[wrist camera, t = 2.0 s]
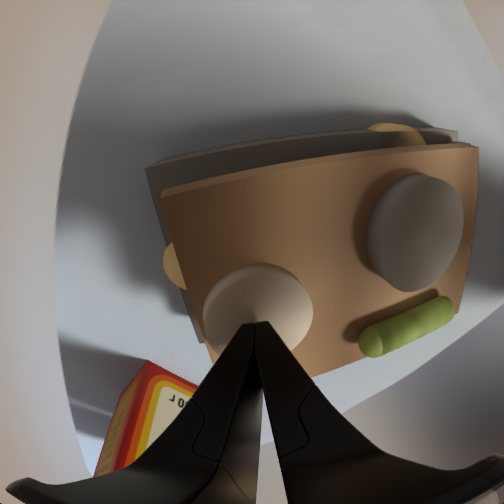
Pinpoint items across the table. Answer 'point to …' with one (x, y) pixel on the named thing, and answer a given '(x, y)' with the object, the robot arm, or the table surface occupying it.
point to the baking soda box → (142, 415)
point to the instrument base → (265, 155)
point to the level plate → (330, 249)
